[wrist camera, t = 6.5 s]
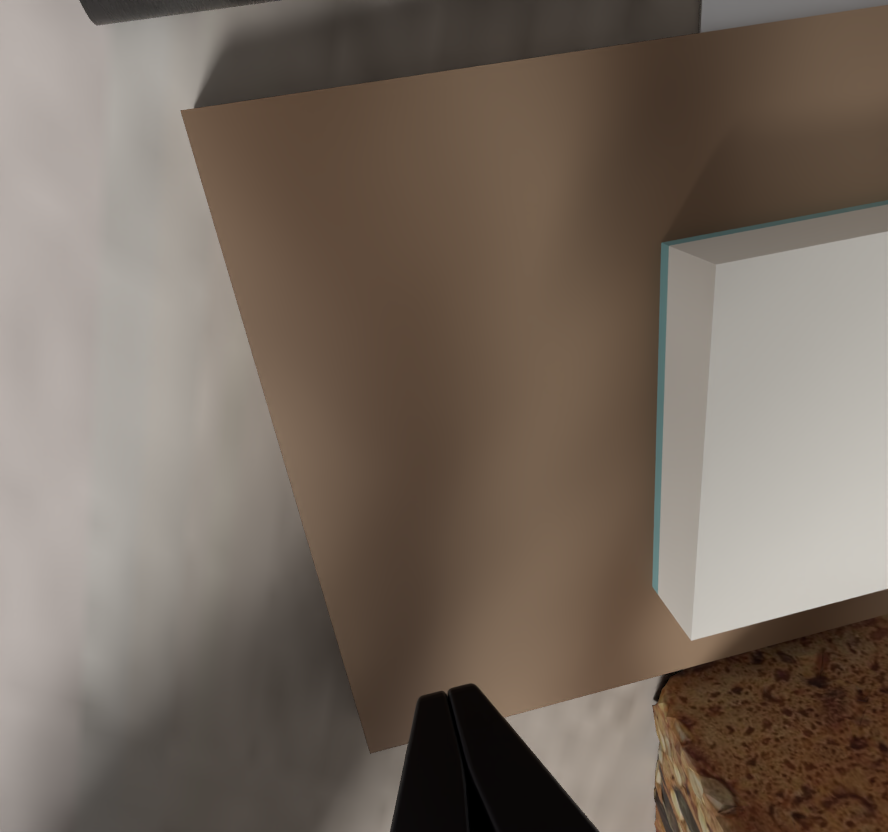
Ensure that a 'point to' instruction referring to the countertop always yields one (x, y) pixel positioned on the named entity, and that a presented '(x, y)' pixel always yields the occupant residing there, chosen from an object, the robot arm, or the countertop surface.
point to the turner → (721, 8)
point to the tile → (772, 419)
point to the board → (514, 333)
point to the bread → (779, 738)
